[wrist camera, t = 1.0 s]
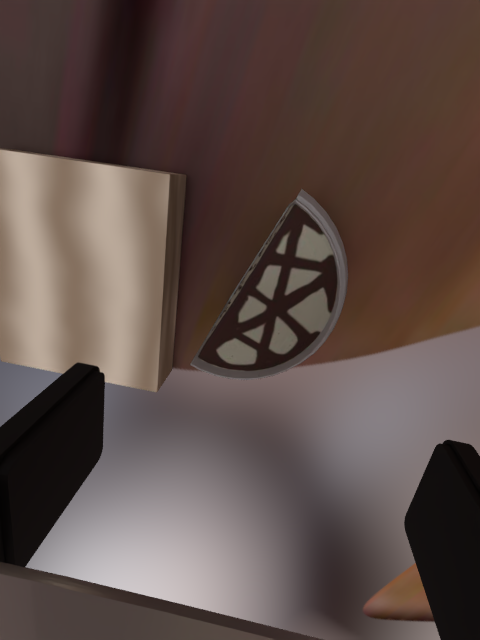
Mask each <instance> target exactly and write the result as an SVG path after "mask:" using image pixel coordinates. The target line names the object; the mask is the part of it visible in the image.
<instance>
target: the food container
mask: <svg viewBox="0 0 480 640" xmlns="http://www.w3.org/2000/svg"><path fill="white" fill-rule="evenodd" d="M347 283H348V267H347V258H346V254H345V250H344V245H343V242H342V240H341V237H340V235H339V233H338V230H337V228H336V226H335V225H334V223H333V222H332V220H331V218H330V217H329V215H328V214H327V212H326V211H325V210H324V209H323V208H322V207H321V206H320V205H319V203H318V202H317V201H316V200H315V199H314V198H313V197H311V196H310V195H309V194H307V193H306V192H305V191H304V190H302V189H301V191H300V193H299V194H298V196H297V198H296V199H295V200H294V201H293V202H291V203H290V204H289V206H288V207H287V209H286V210H285V212H284V213H283V215H282V217H281V218H280V220H279V221H278V223H277V224H276V226H275V228H274V229H273V231H272V232H271V234H270V235H269V237H268V239H267V240H266V242H265V243H264V245H263V246H262V248H261V250H260V251H259V253H258V254H257V256H256V257H255V259H254V261H253V262H252V264H251V265H250V267H249V268H248V270H247V272H246V273H245V275H244V276H243V278H242V279H241V281H240V283H239V284H238V286H237V287H236V289H235V290H234V292H233V294H232V295H231V297H230V298H229V300H228V302H227V303H226V305H225V307H224V308H223V310H222V312H221V313H220V315H219V317H218V318H217V320H216V322H215V324H214V325H213V327H212V329H211V330H210V332H209V334H208V335H207V337H206V339H205V340H204V342H203V344H202V346H201V347H200V349H199V351H198V352H197V354H196V355H195V357H194V359H193V360H192V362H191V364H190V365H192V366H194V367H195V368H197V369H199V370H201V371H204V372H206V373H209V374H212V375H215V376H219V377H224V378H228V379H240V380H250V379H261V378H265V377H270V376H274V375H277V374H279V373H282V372H284V371H287V370H289V369H291V368H293V367H294V366H296V365H298V364H300V363H302V362H303V361H304V360H306V359H307V358H308V357H310V356H311V355H312V354H314V353H315V352H316V351H317V349H318V348H319V347H320V346H321V345H322V344H323V343H324V342H325V341H326V339H327V338H328V336H329V335H330V333H331V332H332V330H333V329H334V327H335V324H336V322H337V320H338V318H339V316H340V313H341V311H342V308H343V304H344V300H345V297H346V293H347Z"/></svg>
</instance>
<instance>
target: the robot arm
mask: <svg viewBox="0 0 480 640" xmlns="http://www.w3.org/2000/svg"><path fill="white" fill-rule="evenodd" d="M104 389H105V375H104V373H103V372H100V369H99V367H98V366H94V365H89V364H85V363H80V362H77V363H76V364H74V365H73V366H72V367H71V368H70V369H68V370H67V371H66V372H65V373H64V374H62V375H61V376H60V377H59V378H58V379H57V380H55V381H54V382H53V383H52V384H51V385H49V386H48V387H47V388H46V389H45V390H43V391H42V392H41V393H40V394H39V395H38V396H36V397H35V398H34V399H33V400H32V401H30V402H29V403H28V404H27V405H26V406H25V407H23V408H22V409H21V410H20V411H19V412H17V413H16V414H15V415H14V416H13V417H12V418H11V419H9V420H8V421H7V422H6V423H5V424H3V425H2V426H1V427H0V640H324V639H319V638H316V637H312V636H307V635H303V634H299V633H295V632H291V631H287V630H283V629H279V628H275V627H271V626H267V625H263V624H259V623H255V622H251V621H247V620H243V619H239V618H235V617H231V616H227V615H223V614H219V613H215V612H211V611H207V610H203V609H198V608H194V607H191V606H186V605H183V604H178V603H174V602H170V601H166V600H162V599H158V598H154V597H149V596H145V595H141V594H137V593H133V592H129V591H125V590H120V589H116V588H112V587H108V586H103V585H99V584H96V583H91V582H87V581H83V580H79V579H75V578H71V577H67V576H62V575H57V574H53V573H48V572H44V571H39V570H34V569H30V568H26V567H25V566H26V565H27V563H28V562H29V561H30V559H31V557H32V556H33V555H34V553H35V552H36V550H37V549H38V547H39V546H40V545H41V543H42V542H43V540H44V539H45V537H46V536H47V534H48V533H49V532H50V530H51V529H52V527H53V526H54V524H55V523H56V521H57V520H58V518H59V517H60V516H61V514H62V513H63V511H64V510H65V508H66V507H67V505H68V504H69V503H70V501H71V500H72V498H73V497H74V495H75V493H76V492H77V491H78V490H79V488H80V486H81V485H82V483H83V482H84V481H85V479H86V478H87V476H88V475H89V474H90V472H91V471H92V469H93V468H94V466H95V465H96V463H97V462H98V460H99V458H100V456H101V453H102V449H103V422H104ZM404 523H405V531H406V534H407V537H408V540H409V544H410V546H411V550H412V553H413V556H414V559H415V562H416V565H417V568H418V571H419V574H420V577H421V580H422V583H423V587H424V590H425V593H426V596H427V599H428V602H429V605H430V608H431V611H432V614H433V617H434V620H435V623H436V626H437V629H438V632H439V636H440V638H441V640H480V456H479V455H478V453H477V452H476V450H475V449H474V447H472V445H470V444H466V443H461V442H456V441H452V440H446V441H444V442H443V444H438V445H437V446H436V447H435V449H434V451H433V454H432V456H431V459H430V461H429V463H428V465H427V467H426V470H425V472H424V474H423V477H422V479H421V481H420V483H419V486H418V488H417V490H416V493H415V495H414V498H413V500H412V502H411V504H410V507H409V509H408V511H407V513H406V516H405V522H404Z"/></svg>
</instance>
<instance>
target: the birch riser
mask: <svg viewBox="0 0 480 640" xmlns="http://www.w3.org/2000/svg"><path fill="white" fill-rule="evenodd" d="M186 176H187V175H183V174H177V173H170V172H163V171H156V170H149V169H142V168H136V167H129V166H122V165H115V164H108V163H101V162H95V161H88V160H81V159H74V158H67V157H60V156H53V155H47V154H40V153H33V152H26V151H19V150H11V149H1V148H0V357H1V361H3V362H8V363H13V364H18V365H23V366H28V367H33V368H38V369H43V370H48V371H53V372H58V373H63V374H64V373H65V372H66V371H67V370H68V369H70V368H71V367H72V366H73V365H74V364H76V363H77V362H80V363H85V364H89V365H94V366H98V367H99V369H100V372H103V373H104V375H105V382H108V383H113V384H118V385H123V386H128V387H133V388H138V389H143V390H148V391H153V392H158V390H159V389H160V387H161V386H162V384H163V383H164V381H165V380H166V378H167V377H168V375H169V374H170V372H171V371H172V365H173V351H174V338H175V324H176V311H177V297H178V284H179V271H180V257H181V244H182V230H183V217H184V203H185V190H186Z"/></svg>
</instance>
